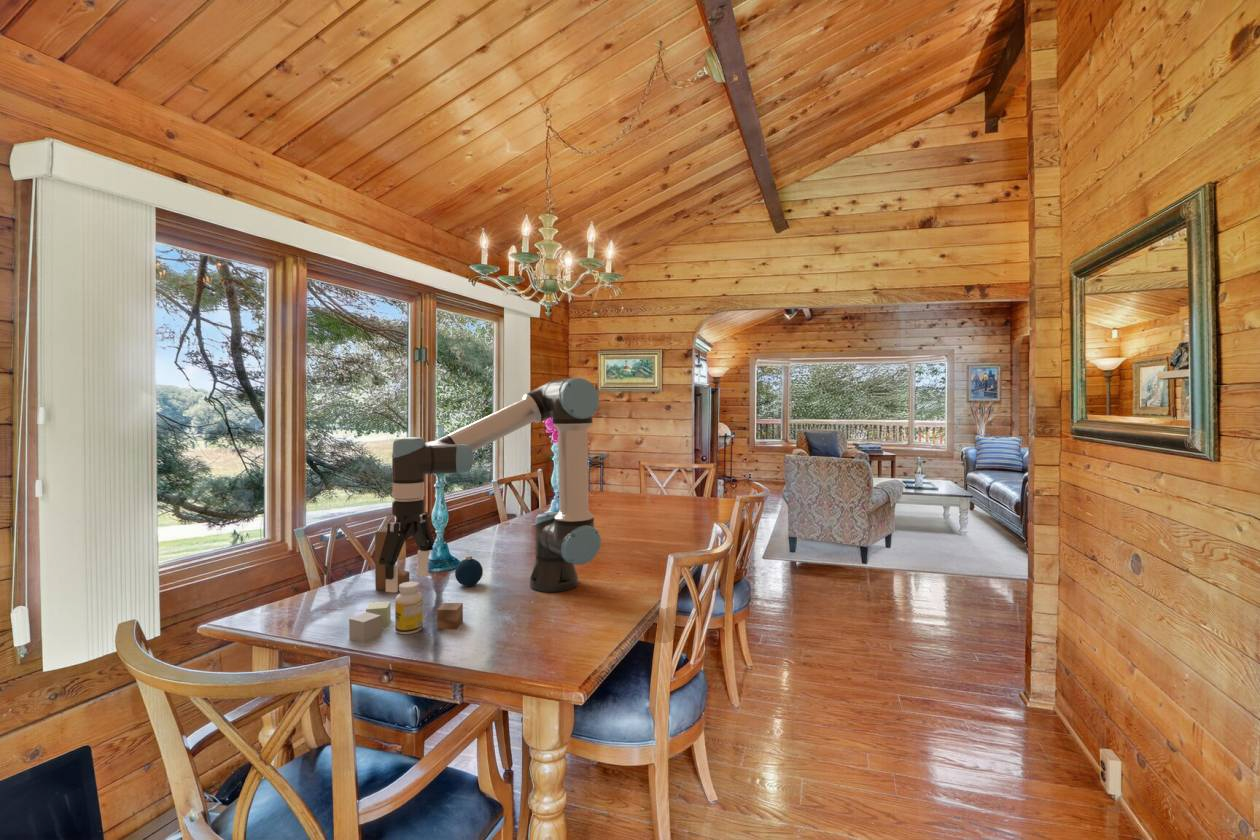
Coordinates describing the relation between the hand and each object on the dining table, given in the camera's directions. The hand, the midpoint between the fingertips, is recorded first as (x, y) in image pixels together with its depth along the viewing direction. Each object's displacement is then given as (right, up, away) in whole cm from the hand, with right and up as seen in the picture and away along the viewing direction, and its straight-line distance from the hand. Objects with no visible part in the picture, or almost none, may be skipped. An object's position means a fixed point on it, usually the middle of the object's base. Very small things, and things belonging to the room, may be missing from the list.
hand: (408, 583), depth 143 cm
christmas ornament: (+5, -11, +36) cm, 38 cm away
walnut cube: (+9, -12, +4) cm, 16 cm away
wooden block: (-18, -11, +33) cm, 40 cm away
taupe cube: (-9, -12, -4) cm, 16 cm away
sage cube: (-9, -12, +4) cm, 16 cm away
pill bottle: (0, -12, 0) cm, 12 cm away
